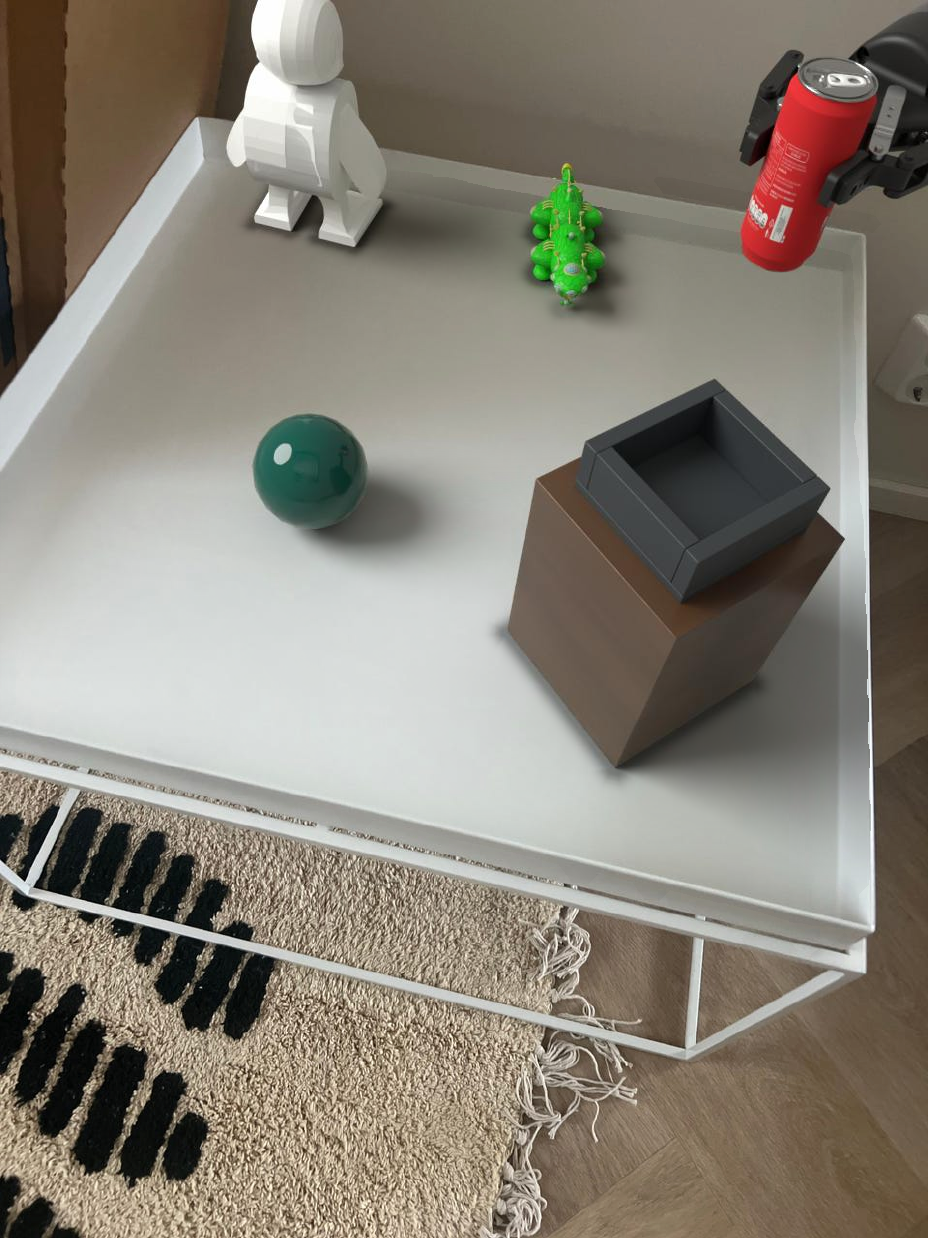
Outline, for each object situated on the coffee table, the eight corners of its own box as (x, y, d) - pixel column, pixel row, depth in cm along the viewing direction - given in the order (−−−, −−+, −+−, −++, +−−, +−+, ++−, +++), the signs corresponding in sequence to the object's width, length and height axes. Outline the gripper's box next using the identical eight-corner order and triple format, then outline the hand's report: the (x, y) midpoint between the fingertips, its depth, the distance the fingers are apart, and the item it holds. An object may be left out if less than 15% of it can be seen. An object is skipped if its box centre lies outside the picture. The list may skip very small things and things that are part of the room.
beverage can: (731, 225, 69) (788, 50, 59) (804, 229, 69) (873, 56, 59) (740, 273, 66) (801, 99, 56) (816, 278, 66) (891, 105, 56)
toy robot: (401, 208, 91) (403, -27, 74) (369, 268, 86) (363, 32, 69) (261, 174, 92) (231, -64, 75) (222, 231, 87) (180, -9, 70)
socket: (697, 423, 56) (714, 377, 53) (806, 531, 53) (831, 488, 50) (573, 485, 53) (584, 440, 50) (680, 604, 50) (698, 563, 47)
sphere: (256, 552, 69) (241, 478, 62) (262, 465, 73) (249, 387, 67) (369, 551, 70) (367, 478, 63) (369, 465, 74) (367, 388, 67)
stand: (641, 556, 71) (700, 397, 57) (753, 680, 66) (846, 538, 53) (506, 630, 67) (535, 478, 53) (614, 768, 62) (676, 639, 48)
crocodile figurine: (528, 319, 84) (534, 278, 80) (527, 190, 93) (532, 148, 90) (604, 325, 84) (614, 283, 80) (596, 195, 93) (604, 153, 90)
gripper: (853, -29, 67) (708, 61, 59) (1048, 58, 62) (916, 167, 55) (814, 81, 73) (678, 174, 66) (988, 168, 68) (863, 278, 61)
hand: (787, 170), depth 60 cm, fingers closed on beverage can, 5 cm apart
